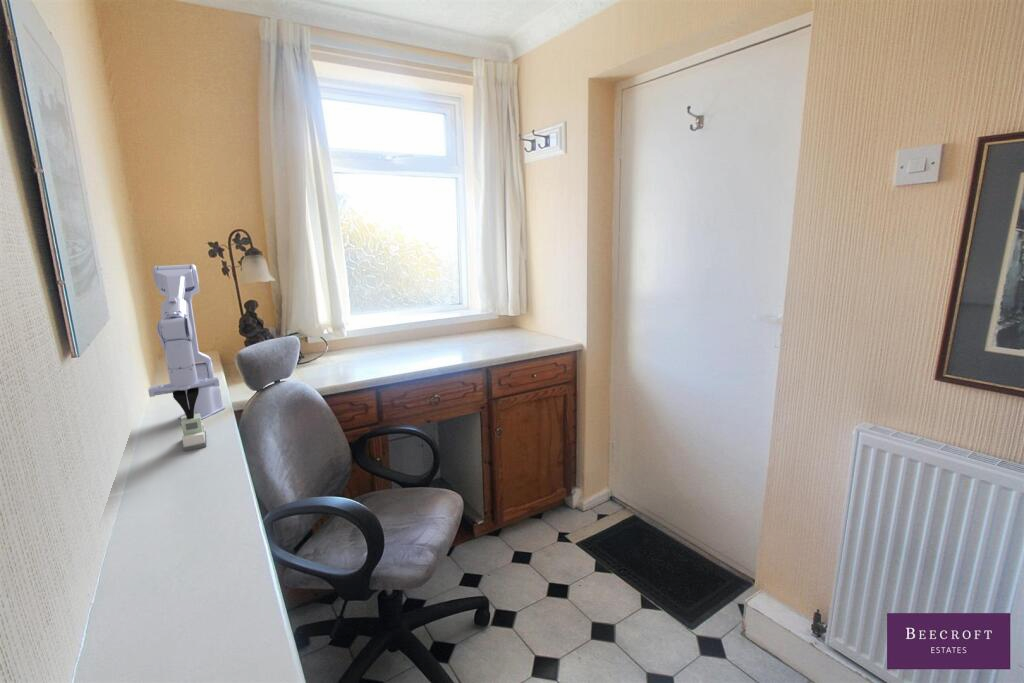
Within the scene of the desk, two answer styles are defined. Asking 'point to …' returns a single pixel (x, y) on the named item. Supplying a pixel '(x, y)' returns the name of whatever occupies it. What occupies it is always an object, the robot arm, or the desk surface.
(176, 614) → the desk surface
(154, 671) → the desk surface
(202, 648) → the desk surface
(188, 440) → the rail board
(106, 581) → the desk surface
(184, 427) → the sage module
